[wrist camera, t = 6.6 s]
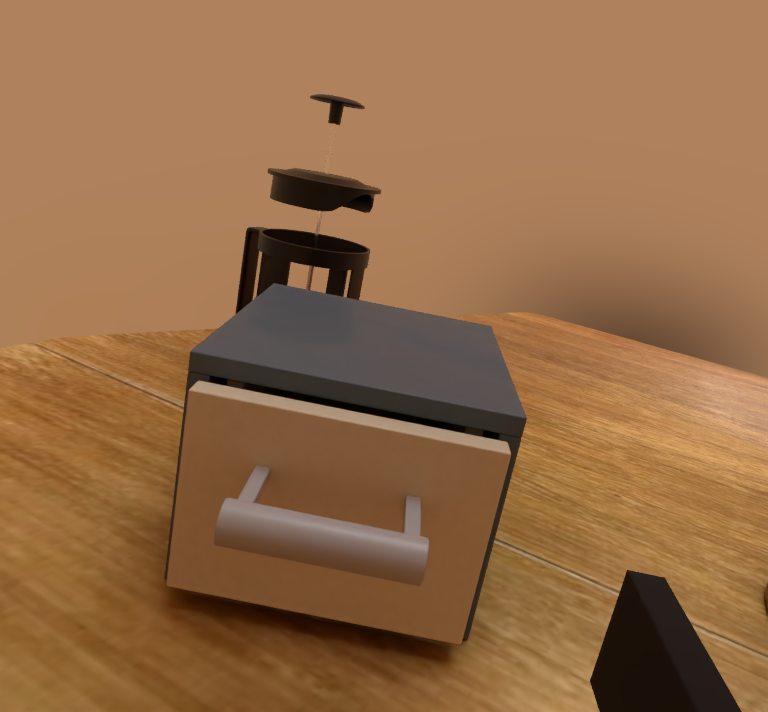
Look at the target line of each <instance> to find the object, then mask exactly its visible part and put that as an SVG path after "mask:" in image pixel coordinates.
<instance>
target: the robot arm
mask: <svg viewBox="0 0 768 712" xmlns="http://www.w3.org/2000/svg"><path fill="white" fill-rule="evenodd" d="M765 601H766V604H767V608H768V583H767V586H766V589H765ZM590 683H591V686H592V689H593V692H594V695H595V698H596V701H597V705H598V708H599V711H600V712H741V710H740V708H739V706H738V705H737V703H736V701H735V699H734V698H733V696H732V694H731V693H730V691H729V689H728V687H727V686H726V684H725V682H724V680H723V679H722V677H721V675H720V673H719V672H718V670H717V668H716V666H715V665H714V663H713V661H712V659H711V658H710V656H709V654H708V652H707V651H706V649H705V647H704V646H703V644H702V642H701V640H700V639H699V637H698V635H697V633H696V632H695V630H694V628H693V626H692V625H691V623H690V621H689V619H688V618H687V616H686V614H685V612H684V611H683V609H682V607H681V605H680V604H679V602H678V600H677V599H676V597H675V595H674V593H673V592H672V590H671V588H670V586H669V585H668V583H667V581H666V579H665V578H664V577H659V576H654V575H649V574H644V573H639V572H634V571H629V570H627V572H626V575H625V578H624V581H623V584H622V587H621V590H620V593H619V596H618V599H617V602H616V605H615V608H614V611H613V614H612V617H611V620H610V623H609V626H608V629H607V632H606V635H605V638H604V641H603V644H602V647H601V650H600V653H599V656H598V659H597V662H596V665H595V668H594V671H593V674H592V677H591V680H590Z"/></svg>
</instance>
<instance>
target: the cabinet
mask: <svg viewBox="0 0 768 712" xmlns="http://www.w3.org/2000/svg"><path fill="white" fill-rule="evenodd" d="M188 370H189V372H188V377H187V386H186V395H185V403H184V412H183V421H182V430H181V439H180V447H179V456H178V465H177V474H176V483H175V491H174V500H173V509H172V518H171V527H170V535H169V544H168V553H167V562H166V571H165V579H167V574H168V566H169V557H170V548H171V540H172V531H173V522H174V514H175V505H176V496H177V487H178V479H179V470H180V461H181V453H182V444H183V435H184V426H185V418H186V409H187V400H188V392H189V389H190V388H191V387H192V386H193V385H194V384H195V383H196V382H197V381H204V382H209V383H214V384H219V385H224V386H226V384H227V379H230V380H235V381H240V382H245V383H250V384H255V385H260V386H265V387H270V388H275V389H280V390H285V391H290V392H295V393H300V394H305V395H310V396H315V397H320V398H325V399H330V400H335V401H340V402H345V403H350V404H355V405H360V406H365V407H370V408H375V409H380V410H385V411H390V412H395V413H400V414H405V415H410V416H415V417H420V418H425V419H430V420H435V421H440V422H445V423H450V424H456V425H461V426H466V427H471V428H476V429H481V430H484V432H483V436H482V437H485V438H490V439H495V440H500V441H505V442H507V443H508V445H509V448H510V452H511V458H510V461H509V465H508V469H507V473H506V476H505V480H504V484H503V488H502V492H501V495H500V499H499V503H498V507H497V511H496V514H495V518H494V522H493V526H492V530H491V533H490V537H489V541H488V545H487V548H486V552H485V556H484V560H483V564H482V567H481V571H480V575H479V579H478V583H477V586H476V590H475V594H474V598H473V602H472V605H471V609H470V613H469V617H468V620H467V624H466V628H465V632H464V636H463V639H466V640H467V639H468V637H469V633H470V630H471V626H472V621H473V618H474V614H475V611H476V607H477V603H478V599H479V596H480V592H481V588H482V584H483V581H484V577H485V573H486V569H487V566H488V562H489V558H490V554H491V551H492V547H493V543H494V539H495V536H496V532H497V528H498V524H499V521H500V517H501V513H502V509H503V506H504V502H505V498H506V494H507V491H508V487H509V483H510V479H511V476H512V472H513V468H514V464H515V461H516V457H517V453H518V449H519V446H520V442H521V437H522V434H523V431H524V427H525V423H526V419H527V418H526V415H525V413H524V410H523V407H522V405H521V402H520V400H519V397H518V395H517V392H516V389H515V387H514V384H513V382H512V379H511V376H510V374H509V371H508V369H507V366H506V363H505V361H504V358H503V356H502V353H501V351H500V348H499V345H498V343H497V340H496V338H495V335H494V332H493V330H492V327H491V326H487V325H482V324H477V323H472V322H467V321H462V320H457V319H452V318H447V317H442V316H436V315H432V314H426V313H421V312H416V311H411V310H406V309H401V308H396V307H391V306H386V305H380V304H376V303H371V302H366V301H361V300H356V299H351V298H346V297H341V296H336V295H331V294H326V293H320V292H316V291H311V290H306V289H301V288H296V287H290V286H286V285H281V284H276V283H274V284H273V285H271V286H270V287H269V288H268V289H266V290H265V291H264V292H263V293H261V294H260V295H259V296H258V297H257V298H255V299H254V300H253V301H252V302H250V303H249V304H248V305H247V306H245V307H244V308H243V309H242V310H241V311H239V312H238V313H237V314H236V315H235V316H233V317H232V318H231V319H230V320H228V321H227V322H226V323H225V324H223V325H222V326H221V327H220V328H218V329H217V330H216V331H215V332H214V333H212V334H211V335H210V336H209V337H207V338H206V339H205V340H204V341H202V342H201V343H200V344H199V345H198V346H196V347H195V348H194V349H193V350H191V352H190V360H189V369H188Z"/></svg>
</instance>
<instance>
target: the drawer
mask: <svg viewBox="0 0 768 712" xmlns="http://www.w3.org/2000/svg"><path fill="white" fill-rule="evenodd" d="M483 432H484V430H481V429H476V428H471V427H466V426H461V425H456V424H450V423H445V422H440V421H435V420H430V419H425V418H420V417H415V416H410V415H405V414H400V413H395V412H390V411H385V410H380V409H375V408H370V407H365V406H360V405H355V404H350V403H345V402H340V401H335V400H330V399H325V398H320V397H315V396H310V395H305V394H300V393H295V392H290V391H285V390H280V389H275V388H270V387H265V386H260V385H255V384H250V383H245V382H240V381H235V380H230V379H227V384H226V386H224V385H219V384H214V383H209V382H204V381H197V382H196V383H195V384H194V385H193V386H192V387H191V388H190V389H189V392H188V400H187V409H186V418H185V426H184V435H183V444H182V453H181V461H180V470H179V479H178V487H177V496H176V505H175V514H174V522H173V531H172V540H171V548H170V557H169V566H168V574H167V583H166V585H167V586H169V587H174V588H179V589H184V590H189V591H194V592H199V593H204V594H209V595H214V596H219V597H224V598H229V599H234V600H239V601H244V602H249V603H254V604H259V605H264V606H269V607H274V608H279V609H283V610H288V611H293V612H298V613H303V614H308V615H313V616H318V617H323V618H328V619H333V620H338V621H343V622H348V623H353V624H358V625H363V626H368V627H373V628H378V629H383V630H388V631H393V632H398V633H403V634H408V635H413V636H418V637H423V638H428V639H433V640H438V641H443V642H448V643H453V644H458V645H461V643H462V639H463V636H464V632H465V628H466V624H467V620H468V617H469V613H470V609H471V605H472V602H473V598H474V594H475V590H476V586H477V583H478V579H479V575H480V571H481V567H482V564H483V560H484V556H485V552H486V548H487V545H488V541H489V537H490V533H491V530H492V526H493V522H494V518H495V514H496V511H497V507H498V503H499V499H500V495H501V492H502V488H503V484H504V480H505V476H506V473H507V469H508V465H509V461H510V458H511V452H510V448H509V445H508V443H507V442H505V441H500V440H495V439H490V438H485V437H482V436H483Z"/></svg>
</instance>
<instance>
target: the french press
mask: <svg viewBox="0 0 768 712" xmlns="http://www.w3.org/2000/svg"><path fill="white" fill-rule="evenodd" d="M310 98H311V99H314V100H318V101H322V102H326V103H331V104H330V113H329V123H332V126H331V132H330V138H329V145H328V151H327V157H326V164H325V170H324V173H322V172H317V171H311V170H305V169H297V168H295V169H288V170H282V169H271V168H269V169H268V173H270V174H272V175H273V180H272V187H271V195H270V198H271V199H273V200H276V201H279V202H282V203H286V204H290V205H294V206H298V207H302V208H307V209H312V210H317V211H318V215H317V221H316V227H315V233H310V232H304V231H296V230H288V229H267V228H263V227H249V228H248V229H247V231H246V237H245V246H244V253H243V260H242V261H243V262H242V268H241V276H240V284H239V291H238V299H237V307H236V314H237V313H238V312H239V311H241V310H242V309H243V308H244V307H245V306H247V305H248V304H249V303H250V302H252V299H253V292H254V284H255V277H256V270H257V262H258V255H259V250H260V251H261V252H262V259H261V267H260V274H259V282H258V289H257V296H256V297H255V298H257V297H258V296H259V295H260V294H261V293H263V292H264V291H265V290H266V289H268V288H269V287H270V286H271V285H273V284H274V283H276V284H281V285H286V286H287V283H288V276H289V270H290V263H291V262H294V263H299V264H304V265H309V272H308V278H307V284H306V290H310V287H311V281H312V273H313V268H314V266H315V267H321V268H329V269H330V270H329V276H328V282H327V288H326V294H331V295H336V296H341V297H343V295H344V289H345V283H346V277H347V271H348V270H351V276H350V282H349V288H348V293H347V298H351V299H356V300H359V297H360V291H361V286H362V280H363V275H364V269H365V268H367V265H368V260H369V254H370V249H369V248H367V247H365V246H363V245H360V244H357V243H354V242H351V241H348V240H344V239H340V238H336V237H331V236H327V235H321V234H319V230H320V224H321V218H322V212H323V211H333V210H335V209H337V208H339V207H341V206H343V207H347V208H351V209H355V210H359V211H361V212H364V213H367V212H370V211H371V209H372V207H373V201H374V195H375V194H381V190H380V189H378V188H375V187H371V186H367V185H365V184H363V183H361V182H359V181H358V180H355V179H351V178H347V177H342V176H338V175H333V174H329V167H330V161H331V155H332V149H333V143H334V137H335V130H336V124H337V125H340V122H341V117H342V112H343V107H344V106H346V107H351V108H358V109H364V106H363V105H361V104H360V103H358V102H356V101H353V100H350V99H346V98H342V97H337V96H332V95H323V94H320V95H319V94H317V95H312V96H310Z"/></svg>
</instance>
